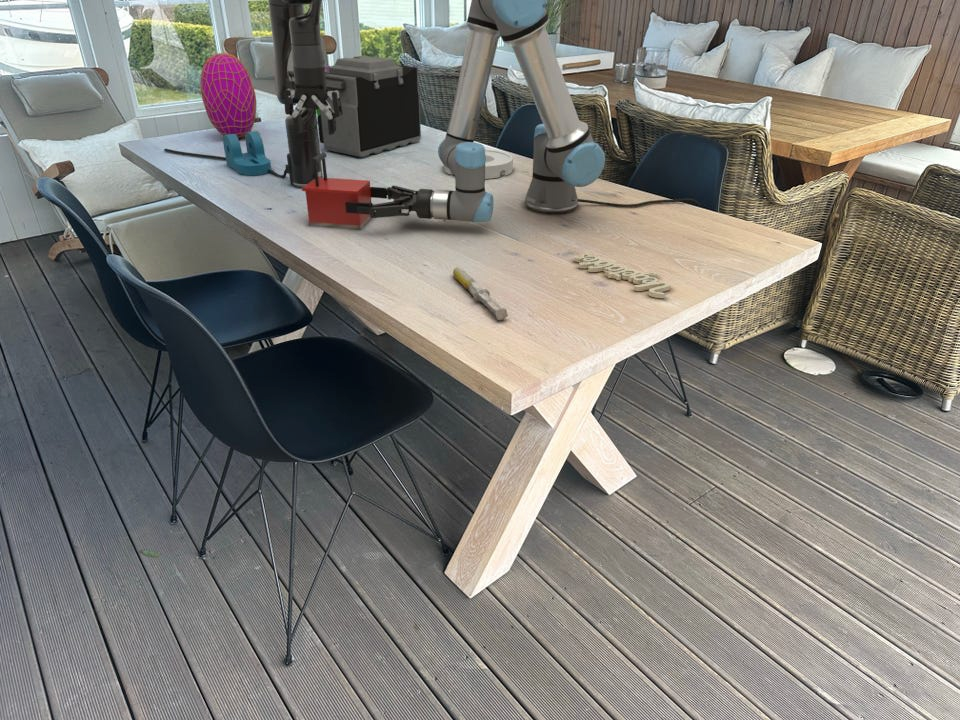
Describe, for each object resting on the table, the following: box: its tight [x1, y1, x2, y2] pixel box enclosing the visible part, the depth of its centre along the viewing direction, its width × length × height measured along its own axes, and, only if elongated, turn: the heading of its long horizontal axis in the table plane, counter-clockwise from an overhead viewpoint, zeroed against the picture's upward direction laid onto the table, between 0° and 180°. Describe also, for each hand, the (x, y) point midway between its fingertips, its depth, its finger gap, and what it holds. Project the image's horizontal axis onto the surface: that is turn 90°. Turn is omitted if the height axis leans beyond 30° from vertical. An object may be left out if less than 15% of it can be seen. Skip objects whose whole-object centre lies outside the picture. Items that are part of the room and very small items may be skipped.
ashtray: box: [443, 148, 514, 180], centre depth 230 cm, size 23×23×4 cm
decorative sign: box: [574, 252, 671, 299], centre depth 155 cm, size 26×1×10 cm
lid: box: [301, 151, 371, 195], centre depth 178 cm, size 15×10×8 cm
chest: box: [304, 183, 372, 230], centre depth 183 cm, size 14×10×9 cm
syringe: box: [452, 266, 509, 321], centre depth 145 cm, size 25×4×3 cm, turn 21°
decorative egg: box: [200, 52, 257, 139], centre depth 259 cm, size 19×19×30 cm
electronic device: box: [317, 55, 422, 159], centre depth 250 cm, size 37×22×30 cm, turn 144°
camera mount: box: [222, 131, 272, 176], centre depth 226 cm, size 18×10×10 cm, turn 35°
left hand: (316, 133), depth 174 cm, fingers open, 8 cm apart
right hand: (354, 199), depth 181 cm, fingers open, 13 cm apart
